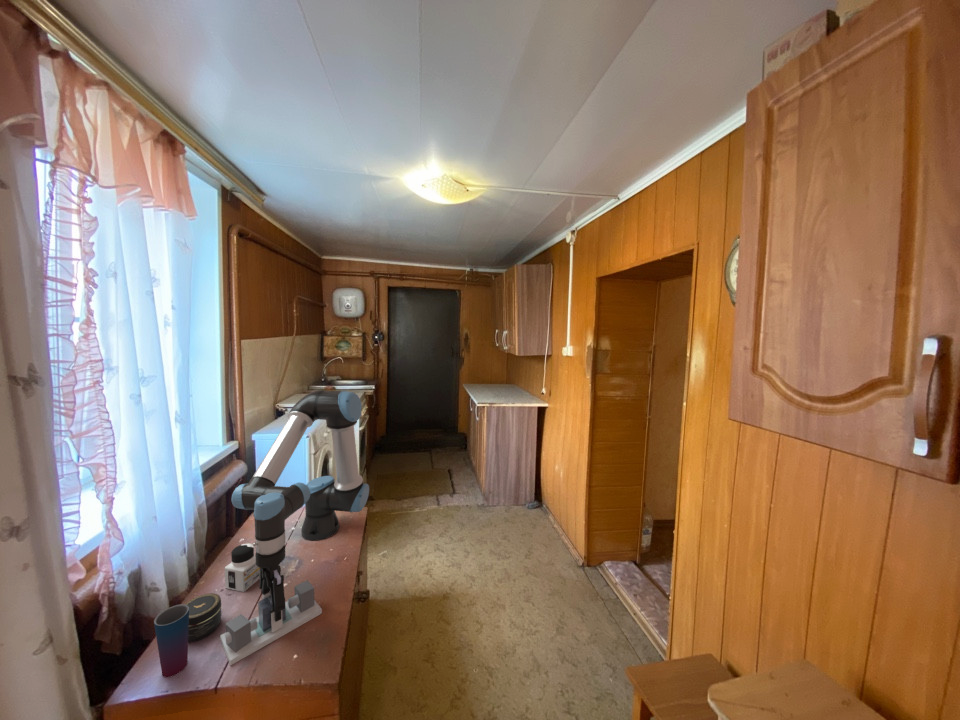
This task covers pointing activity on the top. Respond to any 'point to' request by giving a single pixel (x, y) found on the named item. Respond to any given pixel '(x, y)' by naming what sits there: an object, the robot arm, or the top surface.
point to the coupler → (267, 613)
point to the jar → (203, 616)
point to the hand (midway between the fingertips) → (272, 621)
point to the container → (242, 568)
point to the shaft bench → (250, 636)
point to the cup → (172, 639)
